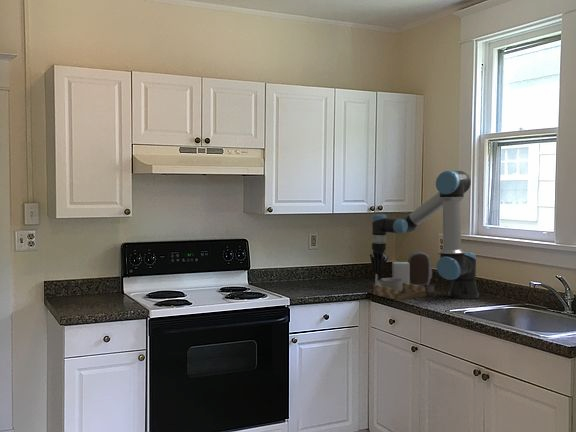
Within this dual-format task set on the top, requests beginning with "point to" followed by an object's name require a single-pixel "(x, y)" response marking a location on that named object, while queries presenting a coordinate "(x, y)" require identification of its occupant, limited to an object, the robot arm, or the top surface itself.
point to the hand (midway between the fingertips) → (378, 285)
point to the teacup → (392, 283)
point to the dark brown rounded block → (420, 268)
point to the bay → (406, 291)
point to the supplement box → (401, 271)
